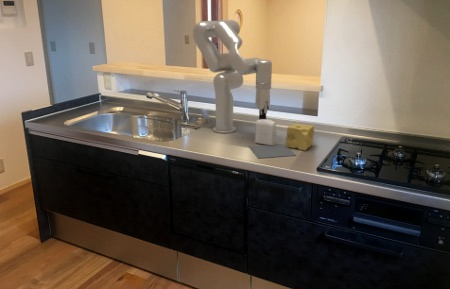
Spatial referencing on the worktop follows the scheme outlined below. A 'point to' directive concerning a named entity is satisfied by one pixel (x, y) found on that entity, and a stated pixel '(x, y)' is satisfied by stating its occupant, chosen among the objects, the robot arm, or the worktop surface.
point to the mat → (271, 151)
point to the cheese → (299, 136)
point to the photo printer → (265, 132)
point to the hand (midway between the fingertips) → (262, 122)
